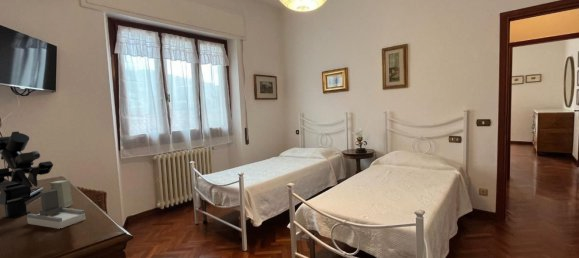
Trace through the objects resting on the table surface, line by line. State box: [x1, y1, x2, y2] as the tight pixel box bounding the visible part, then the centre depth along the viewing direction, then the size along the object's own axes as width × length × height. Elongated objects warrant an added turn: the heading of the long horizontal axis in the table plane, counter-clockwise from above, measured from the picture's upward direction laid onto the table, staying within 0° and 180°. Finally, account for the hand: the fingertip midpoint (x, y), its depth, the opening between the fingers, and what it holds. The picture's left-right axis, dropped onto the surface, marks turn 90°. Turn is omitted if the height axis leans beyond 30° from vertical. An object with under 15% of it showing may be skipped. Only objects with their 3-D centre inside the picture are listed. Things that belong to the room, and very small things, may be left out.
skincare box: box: [49, 179, 74, 208], centre depth 127 cm, size 6×4×12 cm
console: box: [26, 207, 86, 230], centre depth 109 cm, size 20×9×4 cm, turn 69°
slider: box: [39, 189, 62, 216], centre depth 109 cm, size 5×5×9 cm
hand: (34, 186), depth 113 cm, fingers closed
